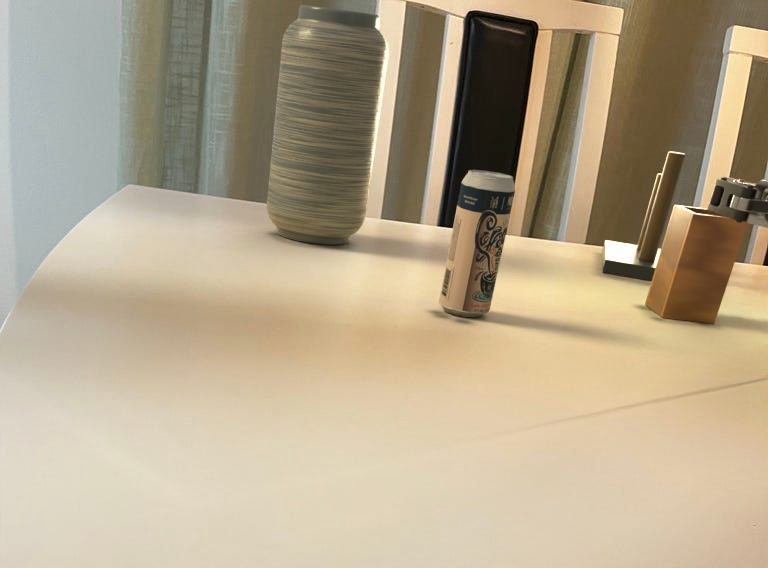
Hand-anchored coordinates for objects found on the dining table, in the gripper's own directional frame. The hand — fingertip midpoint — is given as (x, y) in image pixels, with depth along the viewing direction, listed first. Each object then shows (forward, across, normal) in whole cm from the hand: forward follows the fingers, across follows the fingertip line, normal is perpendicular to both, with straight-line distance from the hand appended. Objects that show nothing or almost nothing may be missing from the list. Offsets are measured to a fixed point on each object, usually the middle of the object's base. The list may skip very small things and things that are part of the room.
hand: (767, 196), depth 89 cm
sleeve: (+11, 0, +13) cm, 17 cm away
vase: (+30, +38, +13) cm, 51 cm away
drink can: (+1, +25, +13) cm, 28 cm away
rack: (+36, -4, +13) cm, 39 cm away
